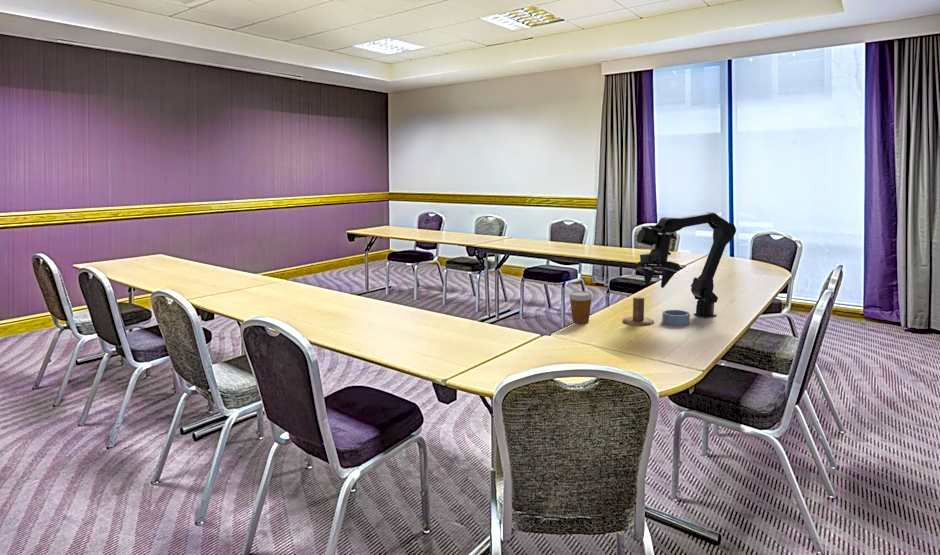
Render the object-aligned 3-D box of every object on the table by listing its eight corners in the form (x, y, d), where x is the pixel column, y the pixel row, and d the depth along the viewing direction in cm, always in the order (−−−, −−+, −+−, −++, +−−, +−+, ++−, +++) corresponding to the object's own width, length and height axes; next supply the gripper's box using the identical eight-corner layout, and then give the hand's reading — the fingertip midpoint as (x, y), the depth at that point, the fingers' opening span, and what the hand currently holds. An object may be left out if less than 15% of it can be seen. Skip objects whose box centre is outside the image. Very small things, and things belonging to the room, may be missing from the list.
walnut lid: (640, 317, 248) (641, 293, 246) (660, 323, 237) (660, 299, 236) (616, 320, 244) (617, 296, 242) (635, 327, 233) (636, 302, 231)
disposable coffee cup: (592, 325, 237) (592, 295, 235) (568, 324, 239) (568, 295, 237) (592, 319, 247) (592, 291, 244) (569, 319, 248) (569, 290, 246)
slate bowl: (676, 318, 244) (677, 308, 243) (694, 323, 235) (695, 313, 234) (657, 321, 240) (657, 311, 240) (674, 327, 231) (674, 317, 231)
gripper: (630, 244, 244) (623, 281, 243) (662, 243, 226) (654, 284, 226) (652, 250, 248) (645, 287, 247) (684, 250, 231) (676, 289, 230)
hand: (654, 286), depth 238 cm, fingers open, 9 cm apart
